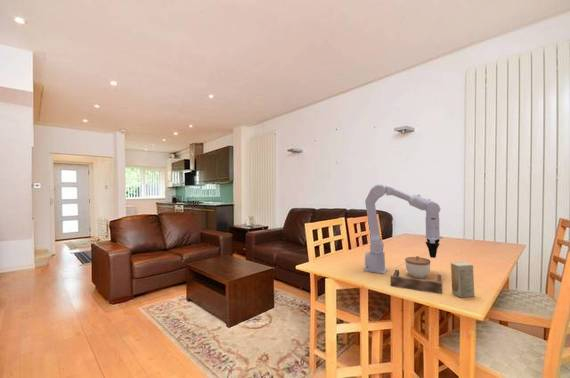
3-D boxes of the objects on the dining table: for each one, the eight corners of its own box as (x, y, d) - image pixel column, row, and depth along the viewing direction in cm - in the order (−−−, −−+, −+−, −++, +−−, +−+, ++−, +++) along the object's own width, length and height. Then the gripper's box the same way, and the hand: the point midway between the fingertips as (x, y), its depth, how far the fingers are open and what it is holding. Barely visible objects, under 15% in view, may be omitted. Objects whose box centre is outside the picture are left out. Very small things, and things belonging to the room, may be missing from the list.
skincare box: (466, 292, 105) (466, 261, 105) (475, 296, 100) (474, 264, 100) (450, 293, 105) (450, 262, 105) (458, 297, 100) (457, 265, 100)
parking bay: (390, 285, 114) (390, 276, 114) (395, 274, 128) (395, 266, 128) (441, 293, 104) (441, 283, 104) (441, 280, 118) (441, 271, 118)
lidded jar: (435, 279, 120) (435, 259, 120) (411, 280, 120) (411, 259, 120) (423, 272, 131) (423, 253, 131) (401, 272, 131) (401, 253, 131)
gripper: (442, 229, 117) (443, 260, 117) (442, 225, 130) (442, 253, 130) (424, 228, 121) (425, 258, 121) (425, 224, 133) (426, 251, 133)
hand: (433, 255), depth 125 cm, fingers open, 7 cm apart
